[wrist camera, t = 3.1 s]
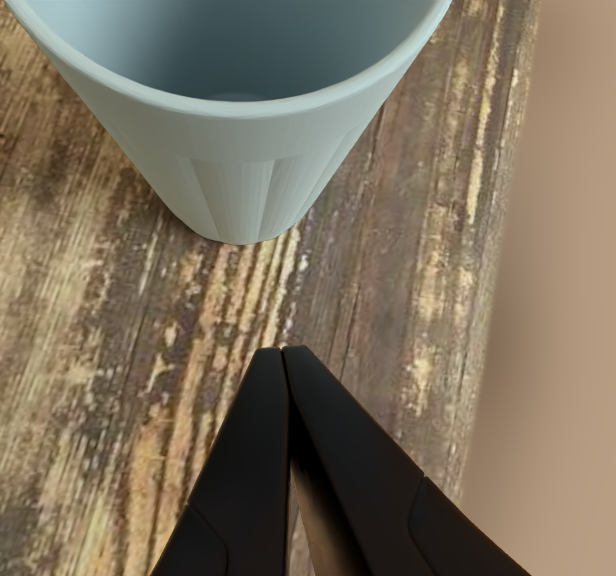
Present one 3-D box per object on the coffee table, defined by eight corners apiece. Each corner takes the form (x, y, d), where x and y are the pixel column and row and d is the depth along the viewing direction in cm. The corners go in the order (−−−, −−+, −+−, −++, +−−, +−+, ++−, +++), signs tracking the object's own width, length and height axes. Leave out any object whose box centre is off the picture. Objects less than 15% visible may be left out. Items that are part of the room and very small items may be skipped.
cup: (280, 34, 20) (314, -354, 9) (391, 209, 19) (560, -11, 9) (86, 123, 18) (-119, -224, 8) (197, 317, 17) (124, 205, 7)
